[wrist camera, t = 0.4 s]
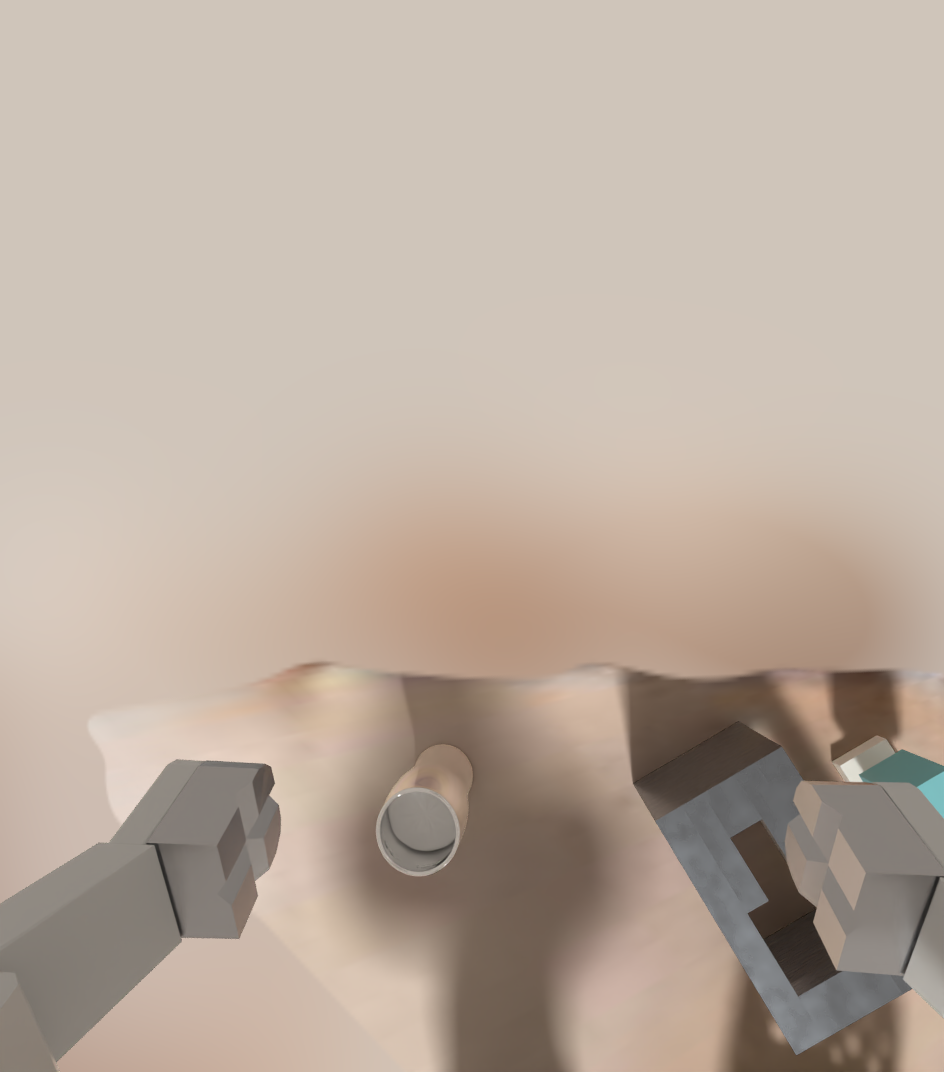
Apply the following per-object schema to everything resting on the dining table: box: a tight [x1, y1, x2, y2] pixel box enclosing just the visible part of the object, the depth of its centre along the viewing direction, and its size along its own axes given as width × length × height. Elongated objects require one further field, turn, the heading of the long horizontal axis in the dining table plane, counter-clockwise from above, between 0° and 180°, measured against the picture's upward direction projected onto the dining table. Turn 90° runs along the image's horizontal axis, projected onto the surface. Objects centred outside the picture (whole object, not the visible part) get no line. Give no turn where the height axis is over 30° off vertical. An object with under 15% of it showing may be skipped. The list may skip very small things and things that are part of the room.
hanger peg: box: [832, 735, 944, 818], centre depth 53 cm, size 5×5×10 cm
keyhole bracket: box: [633, 722, 912, 1055], centre depth 53 cm, size 20×12×10 cm, turn 31°
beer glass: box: [376, 744, 473, 876], centre depth 54 cm, size 7×7×15 cm
